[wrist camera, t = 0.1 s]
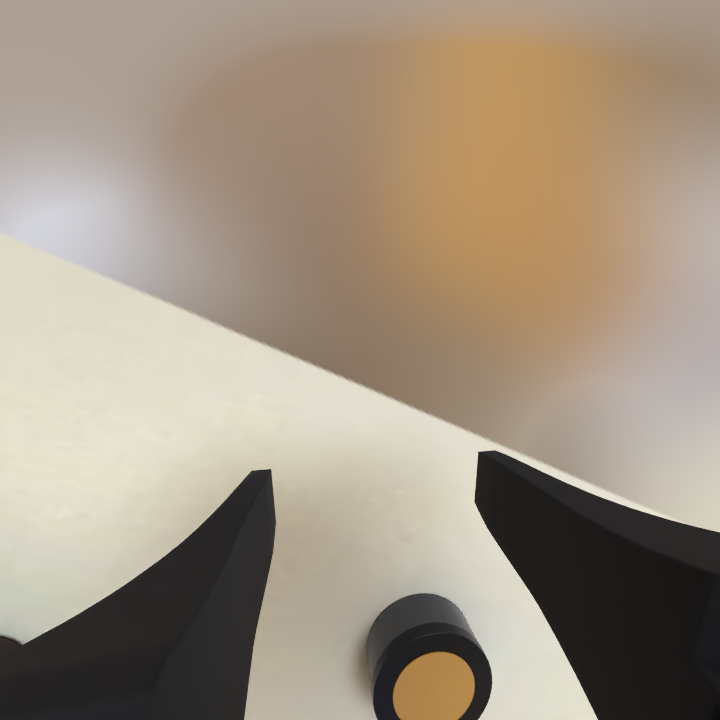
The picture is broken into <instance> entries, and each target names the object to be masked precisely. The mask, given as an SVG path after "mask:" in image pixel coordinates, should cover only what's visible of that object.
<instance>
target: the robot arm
mask: <svg viewBox="0 0 720 720" xmlns="http://www.w3.org/2000/svg"><path fill="white" fill-rule="evenodd" d="M475 504H476V506H477V508H478V510H479V512H480V514H481V517H482V518H483V520H484V522H485V524H486V526H487V528H488V530H489V531H490V533H491V534H492V536H493V537H494V539H495V540H496V542H497V543H498V545H499V546H500V548H501V549H502V551H503V552H504V554H505V555H506V557H507V558H508V560H509V561H510V563H511V564H512V566H513V567H514V569H515V570H516V572H517V573H518V575H519V576H520V578H521V579H522V581H523V582H524V583H525V585H526V586H527V588H528V589H529V591H530V593H531V594H532V596H533V597H534V599H535V601H536V602H537V604H538V605H539V607H540V609H541V611H542V612H543V614H544V616H545V618H546V620H547V622H548V623H549V625H550V627H551V629H552V631H553V632H554V634H555V636H556V638H557V640H558V641H559V643H560V645H561V647H562V649H563V651H564V653H565V655H566V657H567V659H568V661H569V663H570V664H571V666H572V668H573V670H574V672H575V674H576V676H577V678H578V680H579V682H580V684H581V686H582V688H583V690H584V692H585V694H586V696H587V698H588V700H589V702H590V704H591V706H592V708H593V710H594V712H595V714H596V716H597V718H598V720H720V533H719V532H715V531H710V530H707V529H702V528H698V527H694V526H690V525H686V524H682V523H679V522H675V521H671V520H668V519H664V518H661V517H658V516H654V515H651V514H648V513H644V512H641V511H638V510H635V509H632V508H629V507H626V506H623V505H620V504H618V503H615V502H612V501H609V500H606V499H604V498H601V497H598V496H596V495H593V494H591V493H588V492H586V491H584V490H581V489H579V488H577V487H574V486H572V485H570V484H567V483H565V482H563V481H561V480H558V479H556V478H554V477H552V476H550V475H548V474H545V473H543V472H541V471H539V470H537V469H535V468H533V467H531V466H529V465H527V464H525V463H523V462H520V461H518V460H516V459H514V458H512V457H510V456H507V455H505V454H503V453H500V452H498V451H483V452H478V465H477V478H476V490H475ZM275 526H276V519H275V508H274V497H273V486H272V475H271V469H268V470H256V471H251V472H250V474H249V475H248V476H247V477H246V478H245V479H244V480H243V481H242V482H241V484H240V485H239V486H238V487H237V488H236V489H235V490H234V491H233V493H232V494H231V495H230V496H229V497H228V498H227V499H226V500H225V501H224V502H223V503H222V504H221V506H220V507H219V508H218V509H217V510H216V511H215V512H214V513H213V514H212V515H211V516H210V517H209V518H208V519H207V520H206V521H205V522H204V523H203V524H202V525H201V526H200V527H199V528H198V529H196V530H195V531H194V532H193V533H192V534H191V535H190V536H189V537H188V538H186V539H185V540H184V541H183V542H182V543H181V544H179V545H178V546H177V547H176V548H174V549H173V550H172V551H171V552H169V553H168V554H167V555H166V556H164V557H163V558H162V559H161V560H159V561H158V562H157V563H155V564H154V565H152V566H151V567H150V568H148V569H147V570H145V571H144V572H143V573H141V574H140V575H138V576H137V577H136V578H134V579H133V580H131V581H130V582H129V583H127V584H126V585H124V586H123V587H121V588H120V589H118V590H117V591H115V592H114V593H112V594H110V595H109V596H107V597H106V598H104V599H103V600H101V601H99V602H98V603H96V604H94V605H93V606H91V607H90V608H88V609H86V610H85V611H83V612H81V613H80V614H78V615H76V616H75V617H73V618H71V619H69V620H68V621H66V622H64V623H62V624H61V625H59V626H57V627H55V628H53V629H51V630H49V631H48V632H46V633H44V634H42V635H40V636H38V637H37V638H35V639H33V640H31V641H29V642H27V643H26V644H24V645H22V646H20V647H18V648H16V649H14V650H12V651H10V652H9V653H7V654H5V655H3V656H1V657H0V720H244V716H245V708H246V699H247V691H248V683H249V675H250V668H251V660H252V652H253V645H254V640H255V634H256V629H257V624H258V619H259V615H260V610H261V606H262V601H263V596H264V592H265V587H266V583H267V578H268V573H269V569H270V564H271V559H272V554H273V546H274V537H275Z"/></svg>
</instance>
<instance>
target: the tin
mask: <svg viewBox="0 0 720 720" xmlns="http://www.w3.org/2000/svg"><path fill="white" fill-rule="evenodd" d="M367 661H368V667H369V674H370V681H371V691H372V699H373V706H374V711H375V714H376V717H377V719H378V720H478V719H479V717H480V716H481V714H482V713H483V711H484V709H485V707H486V705H487V703H488V700H489V698H490V694H491V688H492V673H491V668H490V665H489V662H488V660H487V658H486V656H485V654H484V652H483V650H482V648H481V646H480V644H479V643H478V641H477V640H476V638H475V636H474V634H473V632H472V630H471V628H470V626H469V624H468V622H467V620H466V619H465V617H464V615H463V613H462V612H461V610H460V609H459V608H458V607H457V606H456V605H455V604H453V603H452V602H451V601H449V600H447V599H446V598H443V597H441V596H437V595H433V594H417V595H412V596H408V597H405V598H403V599H400V600H399V601H397V602H395V603H393V604H392V605H391V606H389V607H388V608H387V609H386V610H385V611H384V612H382V614H381V615H380V616H379V617H378V618H377V620H376V621H375V623H374V625H373V627H372V629H371V631H370V634H369V637H368V641H367Z"/></svg>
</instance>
